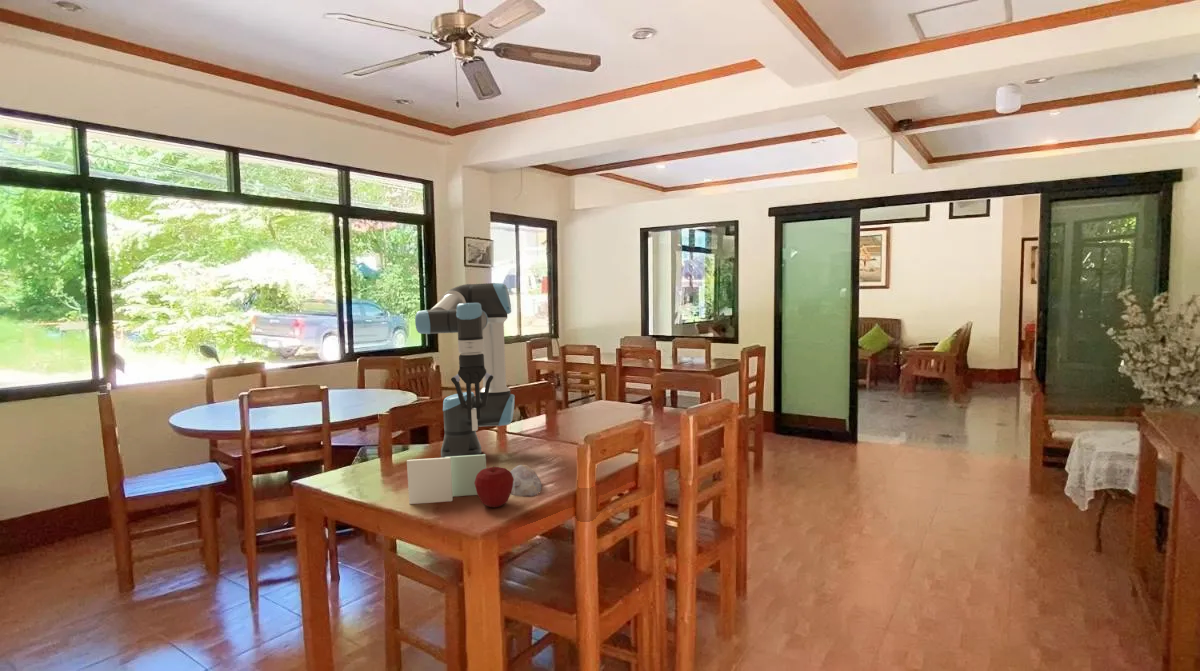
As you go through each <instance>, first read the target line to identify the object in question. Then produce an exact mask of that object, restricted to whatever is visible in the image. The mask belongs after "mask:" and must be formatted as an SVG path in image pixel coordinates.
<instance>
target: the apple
mask: <svg viewBox="0 0 1200 671" xmlns="http://www.w3.org/2000/svg"><path fill="white" fill-rule="evenodd" d="M510 471H511V470H509V469H507V468H506V467H501V466H491V467H486V469H483V470H481V471H480V472H479V473H478V474H477V476H476V479H475V483H474V484H475V487H476V491H477V494H478V495H477V496H478V498H479V500H480V502H481V503H482V504H483V505H485V506H487V507H489V508H500V507H501V506H504V505H505V504H506V503H508V501H509V499H510V496H511V495H512V494H511V491H512V487H513V481H514V479H513V476H512V474H511V472H510Z"/></svg>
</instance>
